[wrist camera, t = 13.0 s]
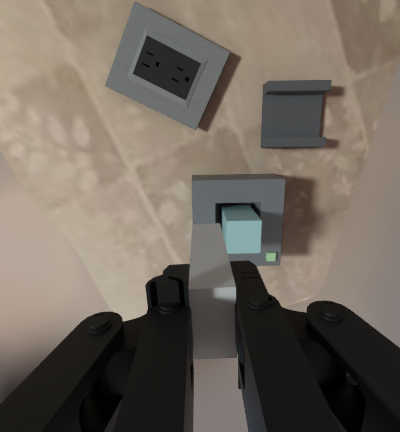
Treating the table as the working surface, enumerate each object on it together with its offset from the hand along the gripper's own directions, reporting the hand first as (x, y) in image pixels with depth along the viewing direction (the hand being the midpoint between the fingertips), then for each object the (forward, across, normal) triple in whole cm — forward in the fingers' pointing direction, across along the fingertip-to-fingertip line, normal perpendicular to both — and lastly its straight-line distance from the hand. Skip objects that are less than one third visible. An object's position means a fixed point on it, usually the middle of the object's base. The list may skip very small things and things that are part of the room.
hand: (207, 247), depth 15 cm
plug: (+26, +4, -6) cm, 27 cm away
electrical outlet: (+28, -4, +14) cm, 32 cm away
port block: (+27, +4, -6) cm, 28 cm away
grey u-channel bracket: (+27, +13, +8) cm, 31 cm away
